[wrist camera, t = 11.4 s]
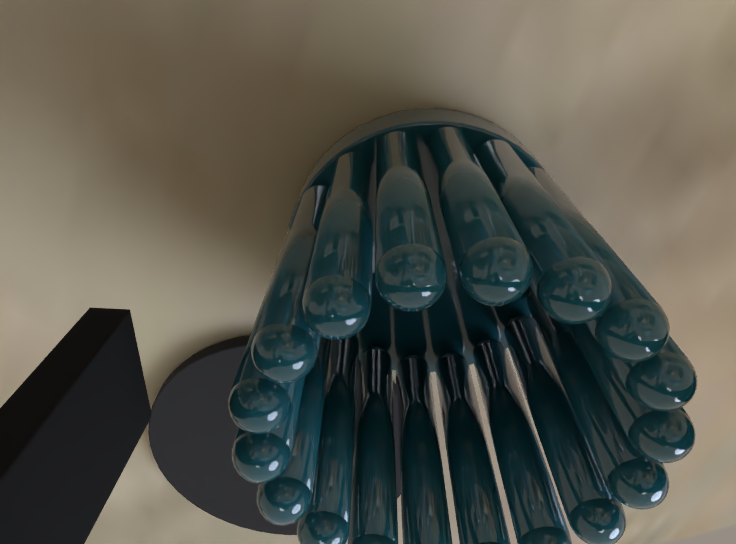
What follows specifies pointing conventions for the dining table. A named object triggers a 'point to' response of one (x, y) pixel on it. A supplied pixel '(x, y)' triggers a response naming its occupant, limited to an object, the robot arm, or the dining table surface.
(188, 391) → the coaster
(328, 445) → the teal ridged cylinder
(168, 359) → the dining table surface
